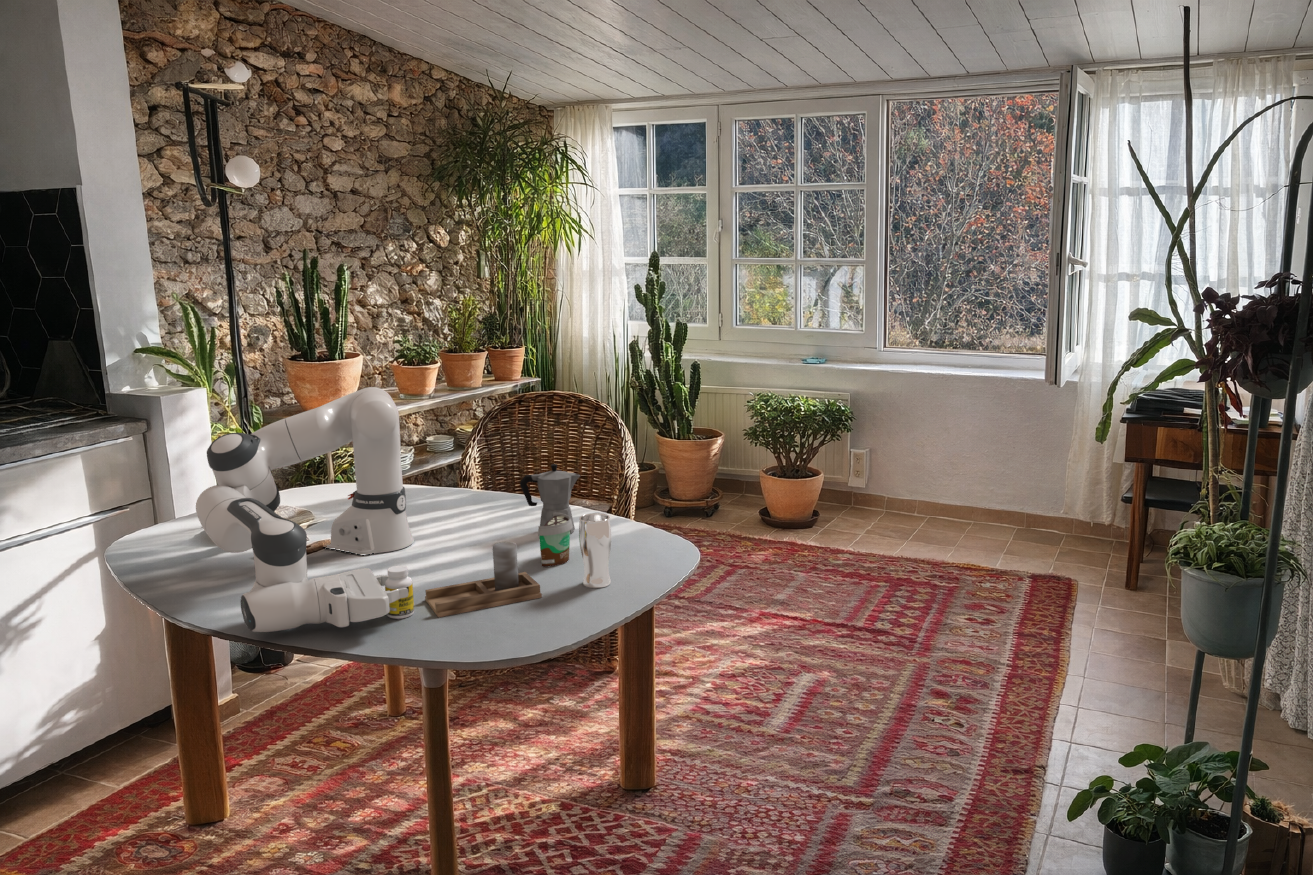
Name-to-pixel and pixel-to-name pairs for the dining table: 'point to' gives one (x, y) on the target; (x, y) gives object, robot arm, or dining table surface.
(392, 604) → the supplement bottle
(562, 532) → the food container
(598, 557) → the beer glass
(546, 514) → the coffeepot
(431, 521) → the dining table surface
